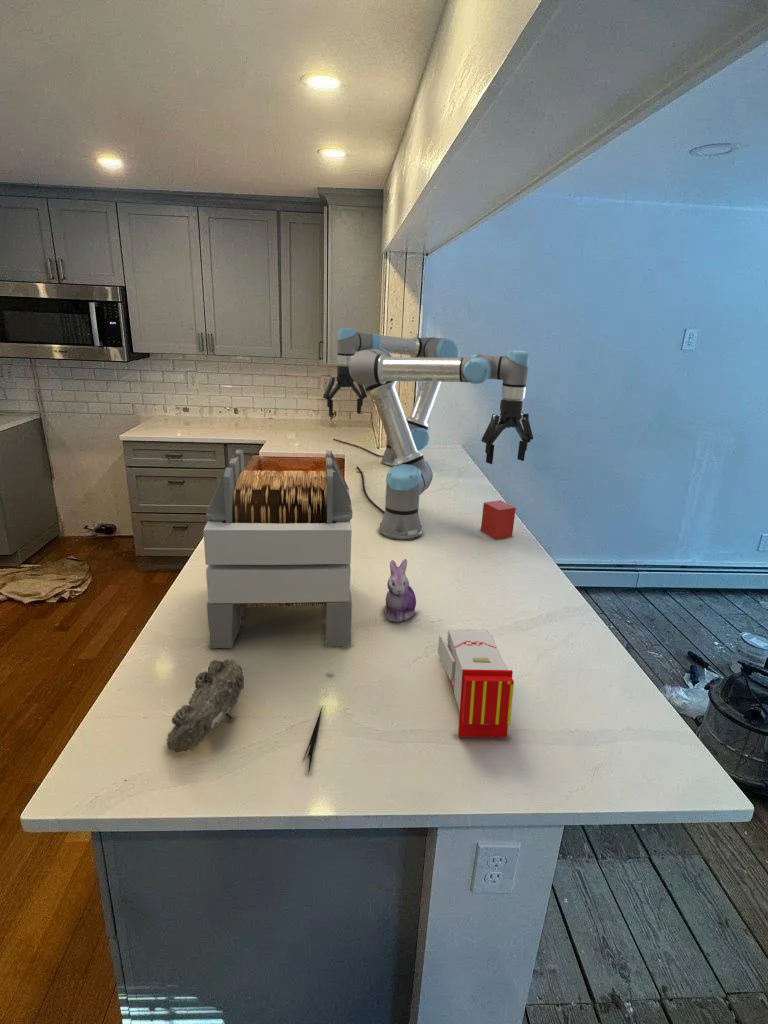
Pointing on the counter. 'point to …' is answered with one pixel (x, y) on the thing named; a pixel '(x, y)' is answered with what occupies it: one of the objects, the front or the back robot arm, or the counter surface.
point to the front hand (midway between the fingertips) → (505, 461)
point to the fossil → (206, 705)
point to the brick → (498, 519)
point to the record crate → (278, 547)
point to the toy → (478, 682)
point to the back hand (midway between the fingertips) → (344, 414)
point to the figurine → (399, 594)
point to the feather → (313, 740)
